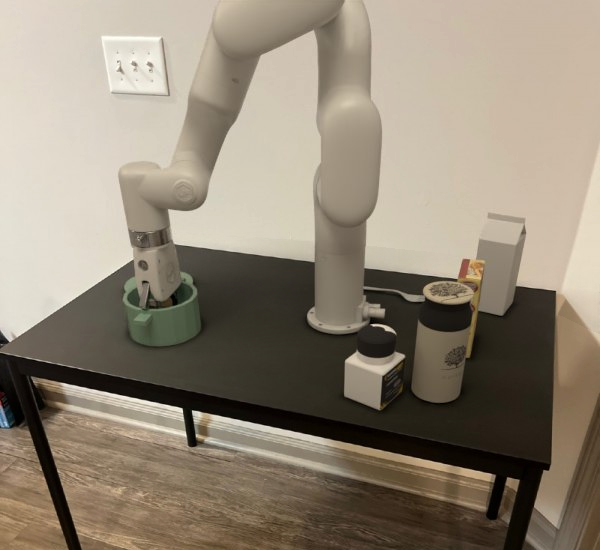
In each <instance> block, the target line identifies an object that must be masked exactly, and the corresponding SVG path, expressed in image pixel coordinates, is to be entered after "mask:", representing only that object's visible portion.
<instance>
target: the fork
mask: <svg viewBox="0 0 600 550" xmlns="http://www.w3.org/2000/svg"><path fill="white" fill-rule="evenodd" d="M363 290H364V291H365V290H366V291H380V292H381V291H382V292H392V293H397V294H399V295H401V297H402V298H404V299H405V300H406V301H408V302H412V303H423V302H424V301H425V296H424V295H418V294H408V293H405V292H402V291H400V290H398V289H393V288H392V289H391V288H381V287H380V288H379V287H373V286H365V285H364V289H363Z"/></svg>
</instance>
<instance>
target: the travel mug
mask: <svg viewBox="0 0 600 550" xmlns="http://www.w3.org/2000/svg"><path fill="white" fill-rule="evenodd" d="M422 294H423V296H425V301H423V302H422V304H420V306H419V309H418V319H417V329H416V337H415V348H414V357H413V367H412V376H411V385H410V388H411V392H412V393H413V394H414V395H415V396H416V397H417V398H419V399H420V400H423V401H426V402H429V403H435V404H436V403H437V404H441V403H443V404H444V403H449V402H452V401H454V400H456V399H457V398H459V396H460V394H461V389H462V384H463V377H464V372H465V371H464V370H465V365H466V359H467V358H466V353H467V346H468V340H469V334H470V328H471V322H472V315H473V311H472V309H471V306H470V302H471V300H472V299H473V297H474V292H473V290H472V289H471V288H470V287H468V286H466V285H464V284H461V283H457V281H450V280H442V281H441V280H439V281H434V282H431V283H428V284H426V285H425V286H424V287H423V288H422Z"/></svg>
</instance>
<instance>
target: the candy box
mask: <svg viewBox="0 0 600 550" xmlns="http://www.w3.org/2000/svg"><path fill="white" fill-rule="evenodd" d="M484 266H485V261H483V260H476V259H472V258H462V261H461V264H460V269H459V272H458V275H457V280H456V282H457V283H461V284H464V285H466V286H468V287H470V288H471V289H472V290H473V292H474V297H473V299H472V300H471V302H470V306H471V309H472V311H473V315H472V322H471V328H470V334H469V340H468V346H467V353H466V359H470V358H471V354H472V350H473V345H474V338H475V333H476V328H477V321H478V315H479V311H478V309H479V302H480V295H481V288H482V281H483V274H484Z"/></svg>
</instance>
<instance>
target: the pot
mask: <svg viewBox="0 0 600 550" xmlns="http://www.w3.org/2000/svg"><path fill="white" fill-rule="evenodd" d="M176 290H177V293H178V296H177V300H178V305H176V306H173V307H169V308H162V309H149V310H142V309H141V308H140V307H139V303H140V296H139V293H138V289H137V285H136V286H134V287H132V288H130V289H129V290H128V291H127V292H125V293H123V297H122V304H123V310H124V314H125V319H126V324H127V330H128V333H129V336H130V338H131V340H133V341H134V342H136V343H138V344H140V345H142V346H148V347H169V346H170V347H171V346H176V345H179V344H182V343H186V342H188V341H190V340H191V339H192V340H193V338H195V337H196V336H197V335H198V334H199V333H200V332H201V330H202V317H201V309H200V299H199V293H198V288H197V287H196V286H195V285H194V283H193V284H190V283H188V282H186V280H185V278H181V284H180V285H179V287H178V288H177V289H176ZM150 298H154V296H153V295H150Z"/></svg>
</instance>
